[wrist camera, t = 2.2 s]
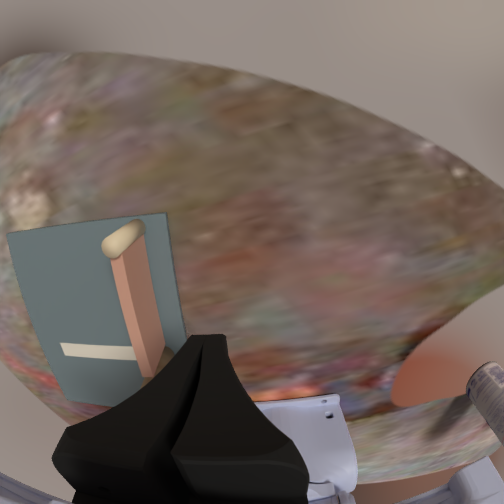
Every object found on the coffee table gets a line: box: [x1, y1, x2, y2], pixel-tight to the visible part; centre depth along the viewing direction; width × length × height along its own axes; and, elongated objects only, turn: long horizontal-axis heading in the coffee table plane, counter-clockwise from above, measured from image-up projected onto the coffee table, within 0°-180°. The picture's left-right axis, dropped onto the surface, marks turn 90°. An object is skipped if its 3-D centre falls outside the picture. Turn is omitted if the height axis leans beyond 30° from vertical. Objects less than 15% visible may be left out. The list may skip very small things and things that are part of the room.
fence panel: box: [101, 219, 166, 377], centre depth 18 cm, size 10×1×4 cm, turn 4°
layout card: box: [6, 212, 187, 407], centre depth 22 cm, size 15×18×1 cm
